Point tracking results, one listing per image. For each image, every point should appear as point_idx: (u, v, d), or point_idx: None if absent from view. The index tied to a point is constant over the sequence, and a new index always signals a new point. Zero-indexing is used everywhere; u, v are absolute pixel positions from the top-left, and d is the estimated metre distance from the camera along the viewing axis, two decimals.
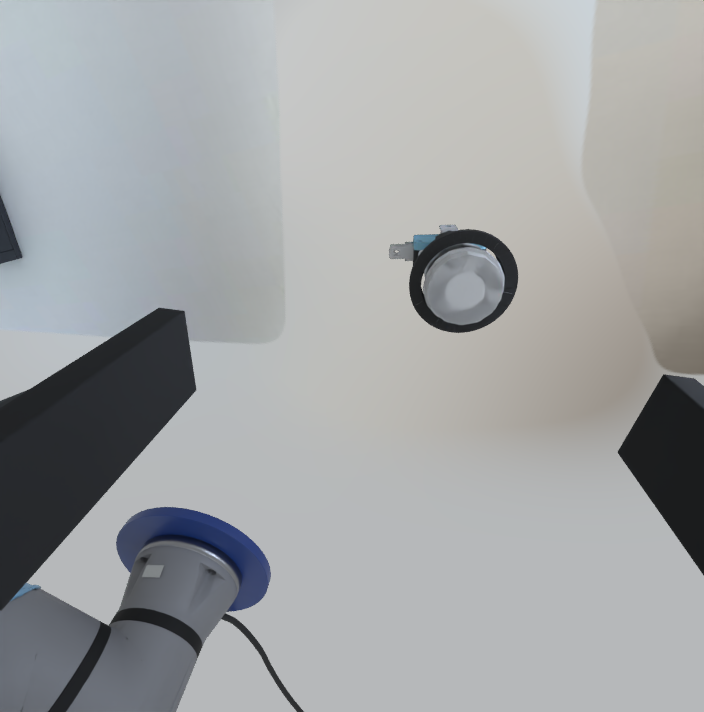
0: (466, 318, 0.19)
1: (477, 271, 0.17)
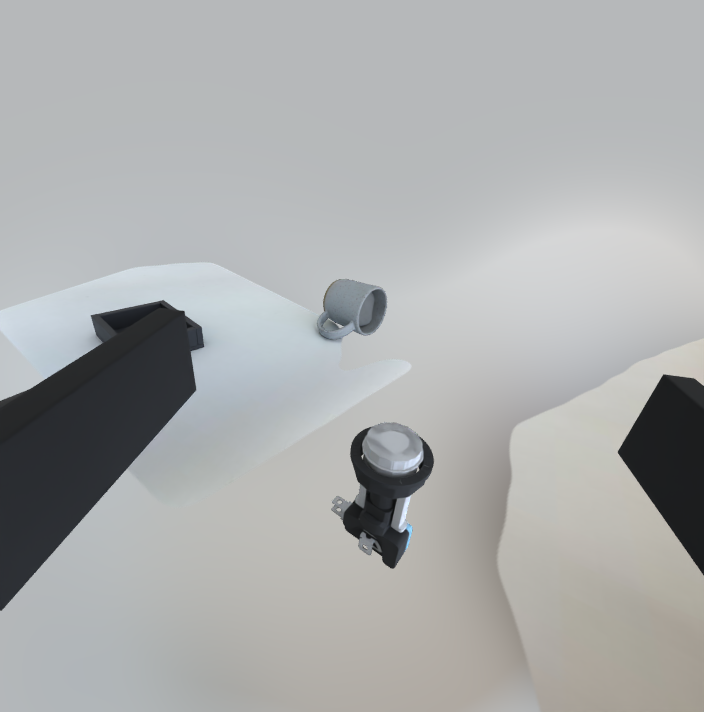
0: (385, 454, 0.22)
1: (408, 436, 0.24)
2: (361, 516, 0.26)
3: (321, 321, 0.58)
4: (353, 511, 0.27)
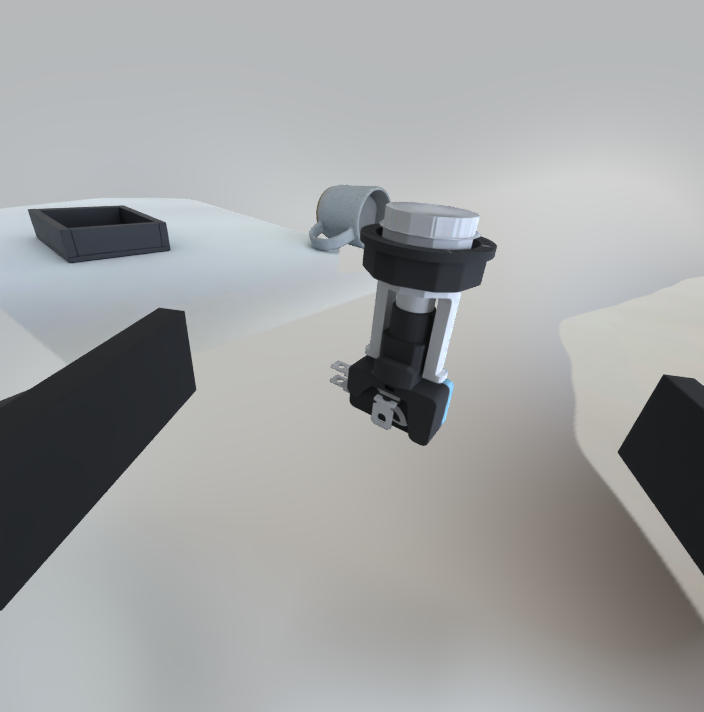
0: (421, 213, 0.13)
1: (453, 209, 0.15)
2: (376, 363, 0.17)
3: (314, 233, 0.49)
4: (363, 365, 0.18)
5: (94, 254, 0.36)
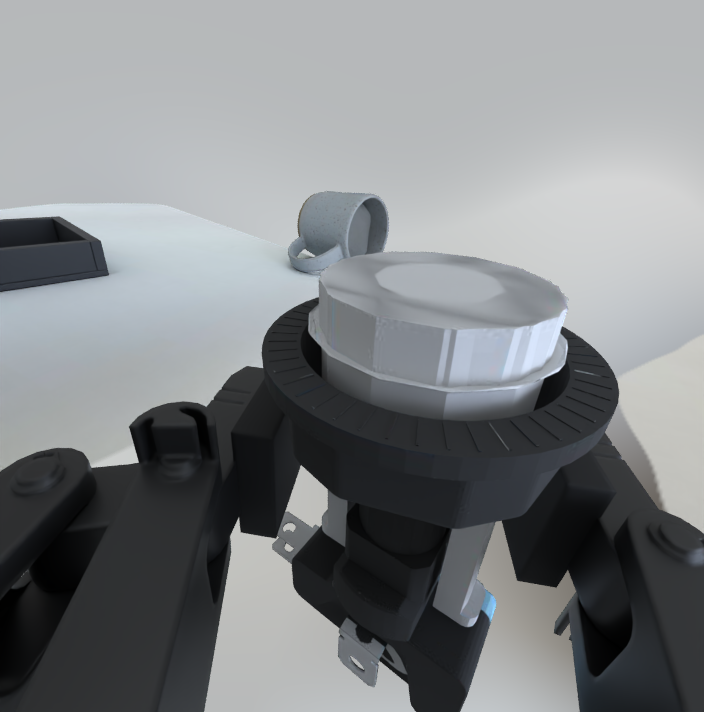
0: (406, 311, 0.04)
1: (488, 271, 0.06)
2: (337, 577, 0.08)
3: (294, 250, 0.40)
4: (317, 557, 0.09)
5: None
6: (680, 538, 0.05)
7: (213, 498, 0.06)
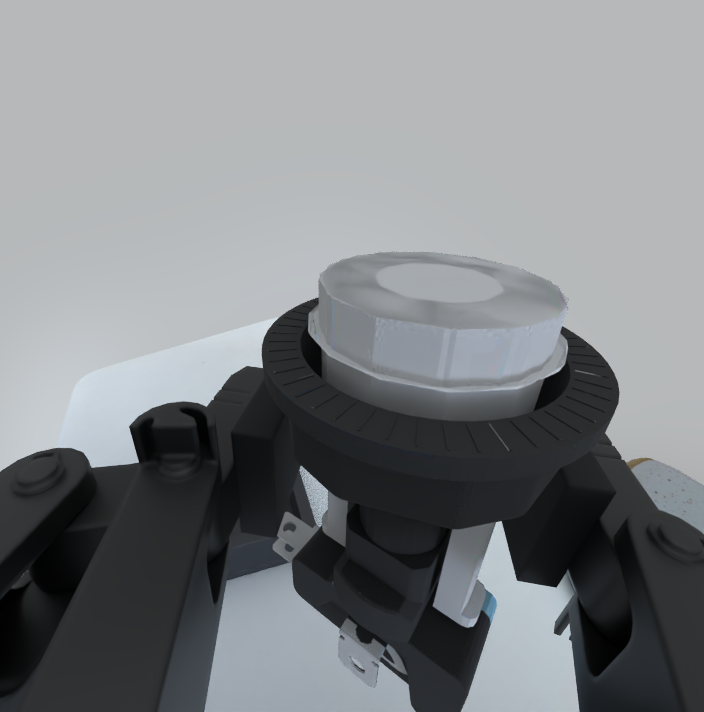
0: (406, 311, 0.04)
1: (488, 271, 0.06)
2: (338, 577, 0.08)
3: None
4: (317, 557, 0.09)
5: None
6: (679, 538, 0.05)
7: (213, 498, 0.06)
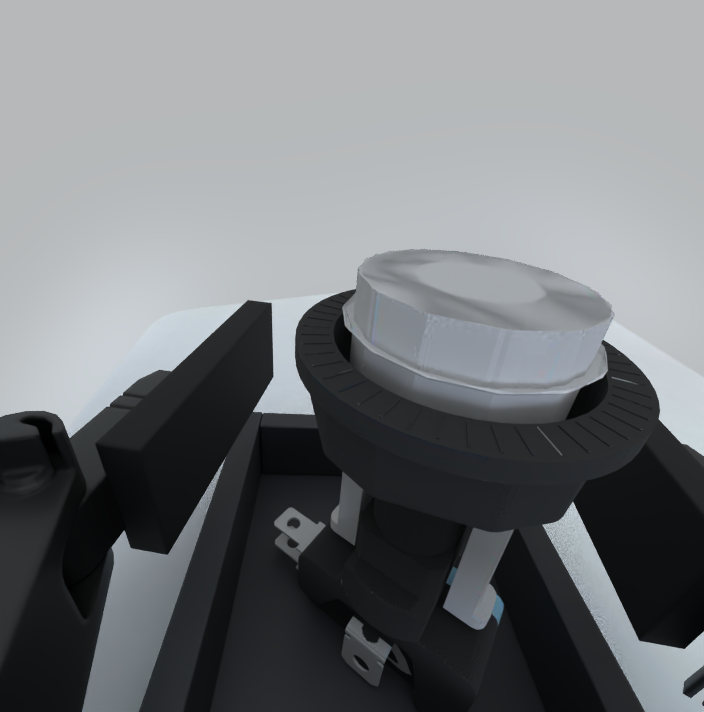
0: (456, 309, 0.04)
1: (524, 274, 0.06)
2: (349, 576, 0.08)
3: None
4: (325, 555, 0.09)
5: None
6: None
7: (68, 508, 0.05)
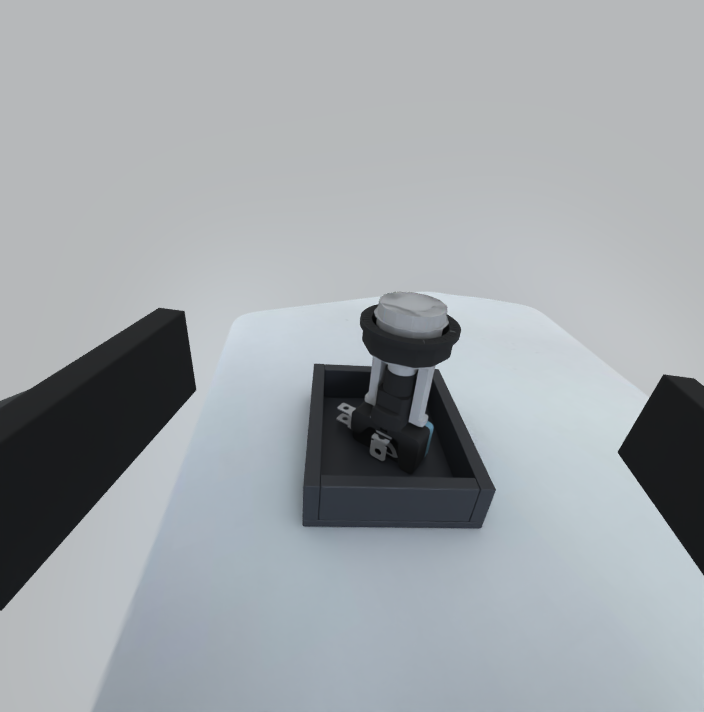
0: (404, 312, 0.18)
1: (429, 301, 0.20)
2: (373, 410, 0.22)
3: None
4: (363, 410, 0.23)
5: (345, 520, 0.19)
6: None
7: None
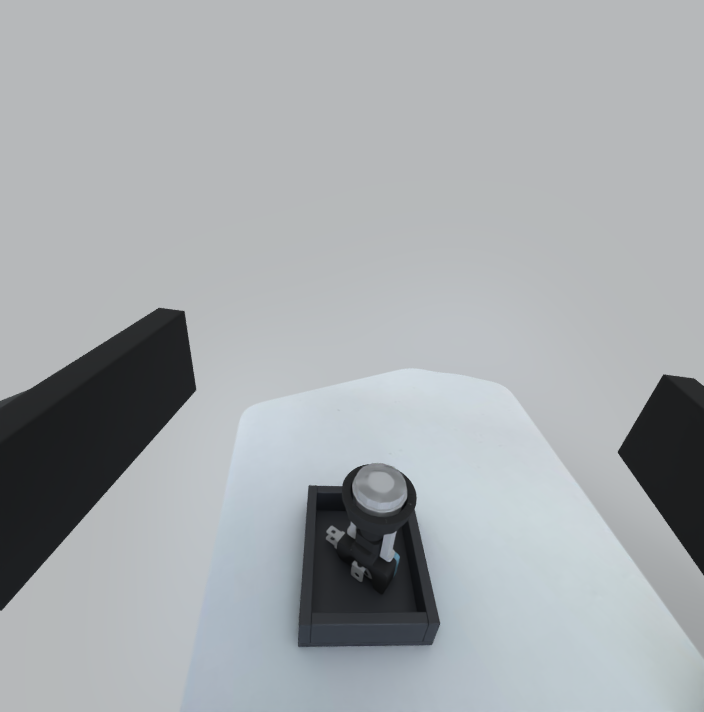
0: (372, 496, 0.25)
1: (393, 476, 0.26)
2: (353, 547, 0.29)
3: None
4: (345, 542, 0.30)
5: (330, 643, 0.26)
6: None
7: None
